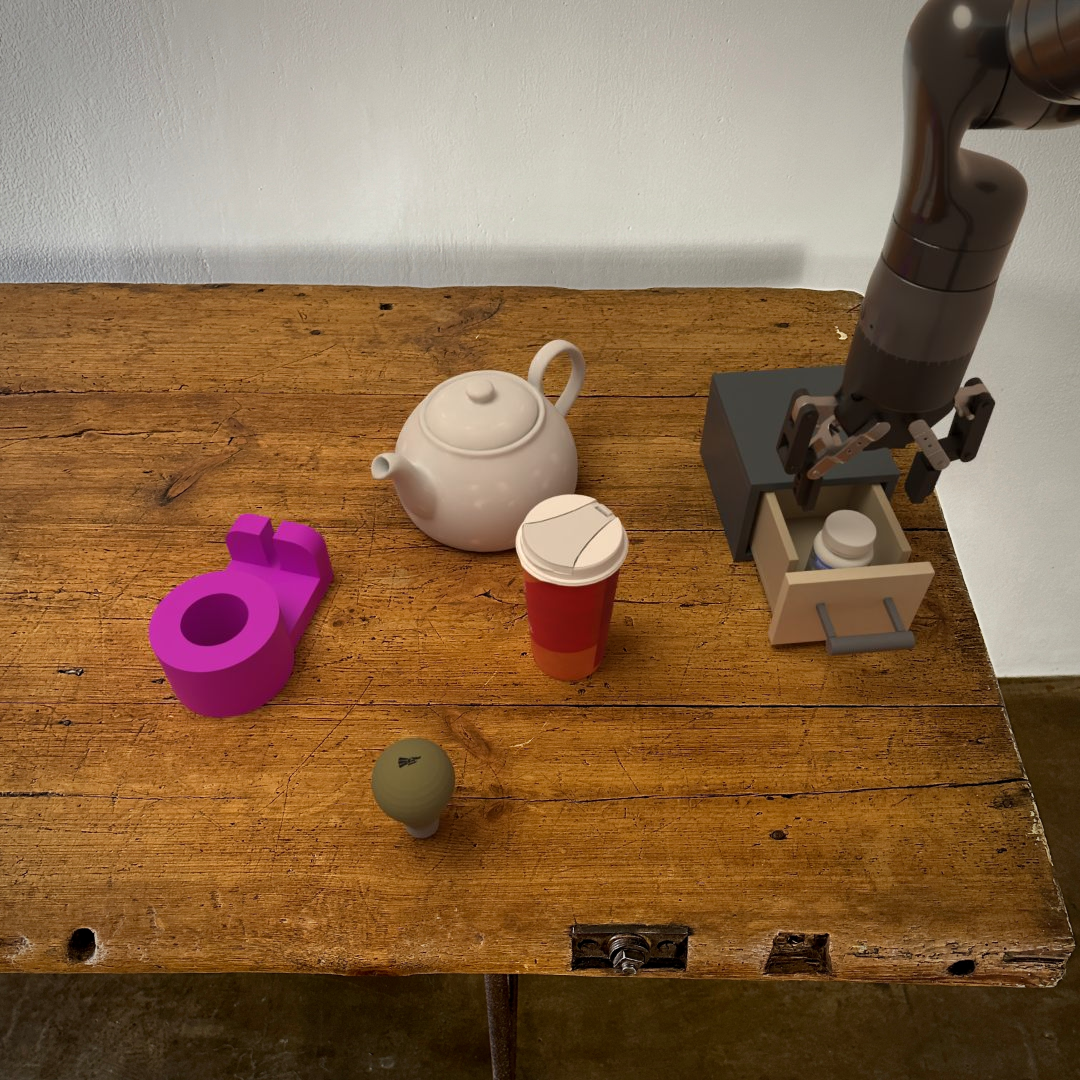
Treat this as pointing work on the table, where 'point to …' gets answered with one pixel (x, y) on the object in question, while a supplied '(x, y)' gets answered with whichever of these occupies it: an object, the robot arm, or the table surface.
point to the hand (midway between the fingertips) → (859, 500)
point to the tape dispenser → (242, 618)
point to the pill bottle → (843, 542)
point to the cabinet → (769, 444)
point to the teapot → (485, 453)
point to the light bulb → (414, 784)
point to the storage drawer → (837, 574)
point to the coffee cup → (570, 581)
